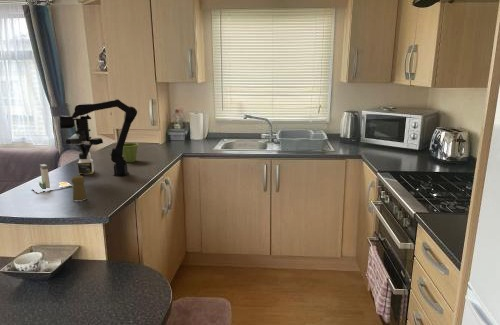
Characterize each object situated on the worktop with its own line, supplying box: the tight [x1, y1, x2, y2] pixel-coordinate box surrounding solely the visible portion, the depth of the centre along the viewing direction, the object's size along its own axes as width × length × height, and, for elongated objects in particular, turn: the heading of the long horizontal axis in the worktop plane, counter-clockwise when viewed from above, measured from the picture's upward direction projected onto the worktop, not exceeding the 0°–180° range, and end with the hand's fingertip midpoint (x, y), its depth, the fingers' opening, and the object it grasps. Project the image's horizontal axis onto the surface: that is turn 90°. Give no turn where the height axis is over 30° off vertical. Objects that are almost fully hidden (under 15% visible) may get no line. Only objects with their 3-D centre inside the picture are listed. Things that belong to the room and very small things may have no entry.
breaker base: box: [38, 180, 73, 189], centre depth 182 cm, size 16×10×4 cm, turn 133°
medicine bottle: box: [77, 152, 95, 176], centre depth 209 cm, size 7×7×12 cm
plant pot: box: [122, 142, 139, 163], centre depth 237 cm, size 12×12×11 cm
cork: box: [71, 175, 88, 201], centre depth 163 cm, size 6×6×11 cm
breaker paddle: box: [39, 163, 51, 188], centre depth 179 cm, size 2×5×11 cm, turn 43°
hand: (85, 156), depth 197 cm, fingers closed
